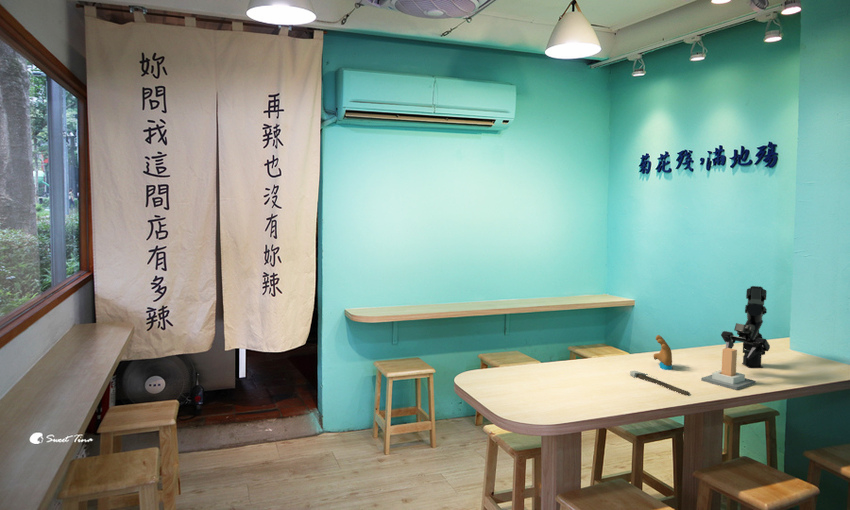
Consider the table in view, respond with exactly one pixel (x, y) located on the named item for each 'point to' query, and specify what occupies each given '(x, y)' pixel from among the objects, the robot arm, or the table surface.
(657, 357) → the toy
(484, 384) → the table surface
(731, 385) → the housing
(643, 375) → the axe
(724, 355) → the tan square peg
